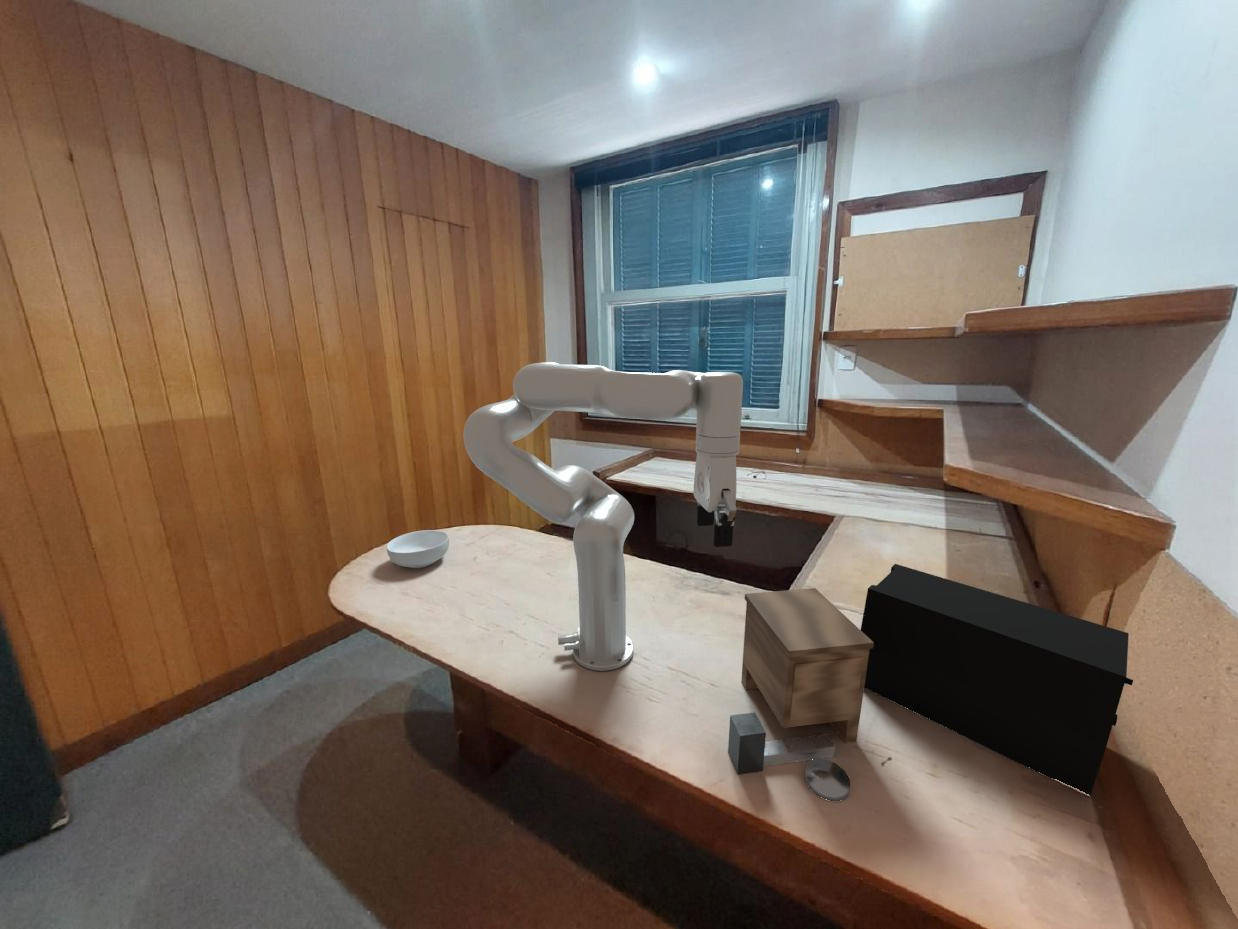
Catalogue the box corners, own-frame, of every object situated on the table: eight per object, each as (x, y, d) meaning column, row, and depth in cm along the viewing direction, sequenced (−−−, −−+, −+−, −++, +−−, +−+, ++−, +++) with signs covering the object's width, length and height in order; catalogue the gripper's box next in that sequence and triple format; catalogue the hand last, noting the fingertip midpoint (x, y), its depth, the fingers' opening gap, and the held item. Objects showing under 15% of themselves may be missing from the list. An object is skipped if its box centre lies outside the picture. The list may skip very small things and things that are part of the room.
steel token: (848, 810, 66) (849, 802, 66) (802, 793, 69) (803, 784, 68) (849, 775, 71) (850, 767, 71) (806, 760, 74) (807, 752, 73)
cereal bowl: (439, 545, 152) (437, 525, 151) (459, 563, 140) (457, 541, 138) (382, 561, 142) (379, 539, 140) (398, 582, 130) (395, 558, 128)
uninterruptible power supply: (884, 648, 100) (897, 561, 95) (1111, 744, 76) (1144, 634, 71) (852, 686, 89) (865, 590, 84) (1105, 811, 65) (1144, 688, 60)
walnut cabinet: (779, 753, 75) (789, 651, 70) (739, 681, 91) (744, 593, 86) (859, 743, 77) (873, 642, 72) (806, 673, 92) (815, 588, 88)
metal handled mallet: (737, 774, 71) (740, 736, 69) (727, 752, 75) (730, 715, 73) (836, 761, 73) (841, 723, 72) (822, 740, 77) (826, 704, 75)
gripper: (683, 435, 91) (681, 519, 95) (713, 456, 74) (708, 557, 79) (721, 434, 92) (717, 517, 96) (758, 454, 75) (752, 553, 80)
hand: (713, 535), depth 87 cm, fingers open, 9 cm apart
